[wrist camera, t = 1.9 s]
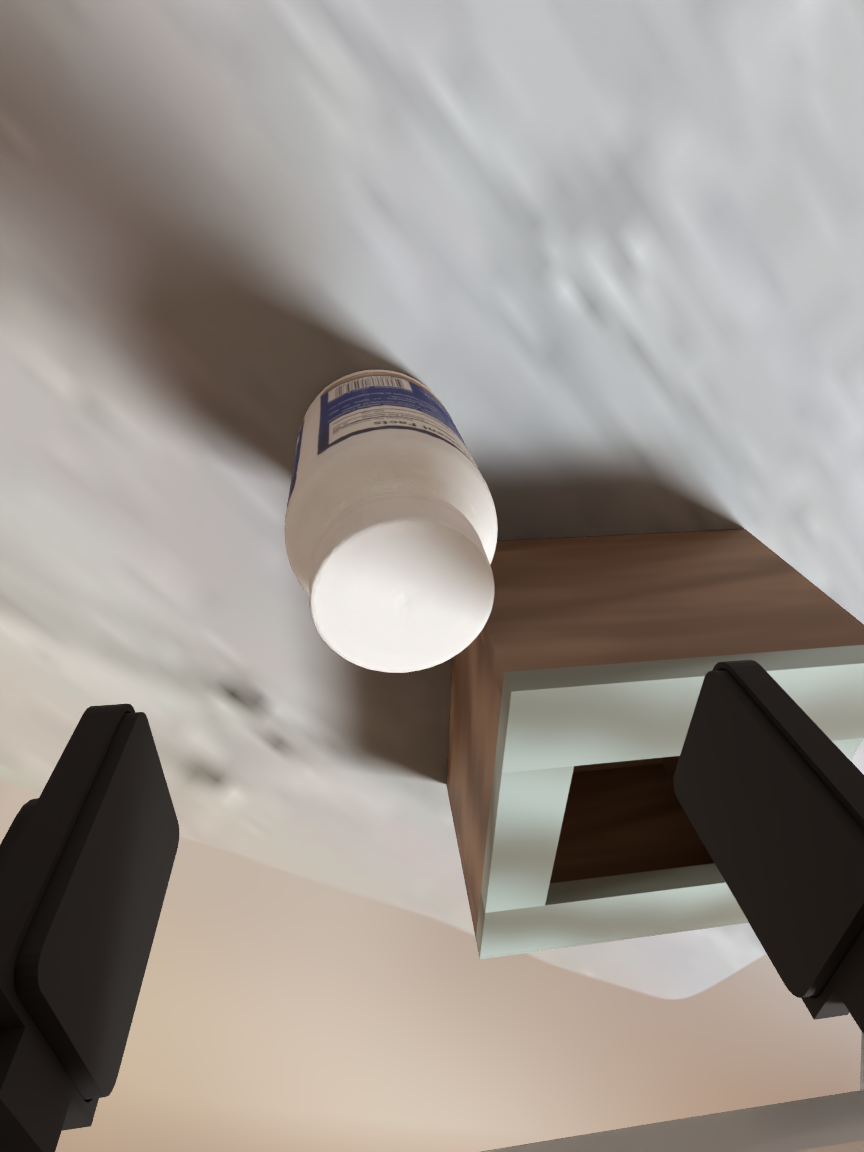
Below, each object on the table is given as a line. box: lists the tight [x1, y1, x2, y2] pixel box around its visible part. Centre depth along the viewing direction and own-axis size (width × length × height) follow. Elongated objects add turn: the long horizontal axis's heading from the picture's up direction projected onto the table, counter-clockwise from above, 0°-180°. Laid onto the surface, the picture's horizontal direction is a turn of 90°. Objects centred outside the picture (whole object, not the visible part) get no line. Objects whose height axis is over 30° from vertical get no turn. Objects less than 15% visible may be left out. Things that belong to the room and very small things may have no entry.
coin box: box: [447, 529, 864, 959], centre depth 24 cm, size 14×12×8 cm
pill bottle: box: [285, 370, 498, 673], centre depth 17 cm, size 5×5×10 cm
